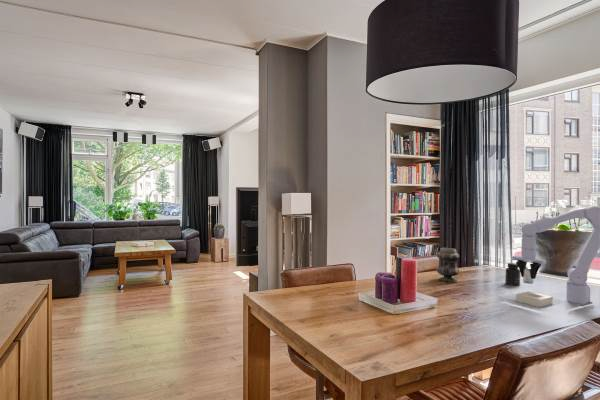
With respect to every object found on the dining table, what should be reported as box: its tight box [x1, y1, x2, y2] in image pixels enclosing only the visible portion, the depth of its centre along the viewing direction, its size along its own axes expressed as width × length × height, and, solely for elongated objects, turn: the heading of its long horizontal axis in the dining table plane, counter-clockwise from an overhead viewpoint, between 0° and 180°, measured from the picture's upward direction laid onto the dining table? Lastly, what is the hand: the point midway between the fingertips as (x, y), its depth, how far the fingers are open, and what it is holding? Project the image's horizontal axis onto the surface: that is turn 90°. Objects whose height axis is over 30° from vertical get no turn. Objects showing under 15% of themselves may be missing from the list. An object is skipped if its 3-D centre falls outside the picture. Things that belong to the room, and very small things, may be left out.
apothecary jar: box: [436, 247, 460, 283], centre depth 204 cm, size 12×12×18 cm
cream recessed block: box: [499, 291, 567, 309], centre depth 164 cm, size 20×18×4 cm
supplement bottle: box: [504, 262, 521, 287], centre depth 192 cm, size 7×7×12 cm
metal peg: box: [522, 266, 534, 284], centre depth 171 cm, size 4×4×7 cm
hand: (528, 277), depth 171 cm, fingers closed on metal peg, 4 cm apart
